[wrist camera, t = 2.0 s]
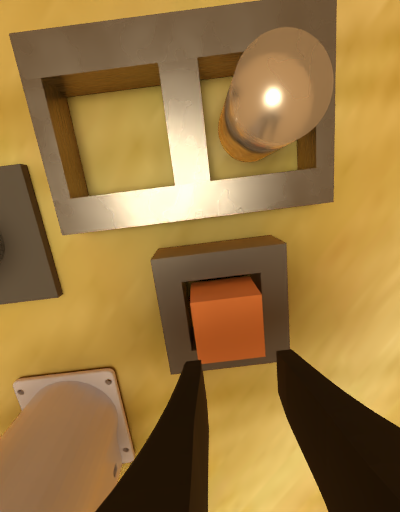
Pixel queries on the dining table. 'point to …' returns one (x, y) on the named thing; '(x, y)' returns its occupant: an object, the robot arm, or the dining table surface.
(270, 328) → the button housing
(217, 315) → the button
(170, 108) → the grey flat rectangular frame
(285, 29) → the light bulb
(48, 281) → the rubber mat
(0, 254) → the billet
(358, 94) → the dining table surface
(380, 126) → the dining table surface
